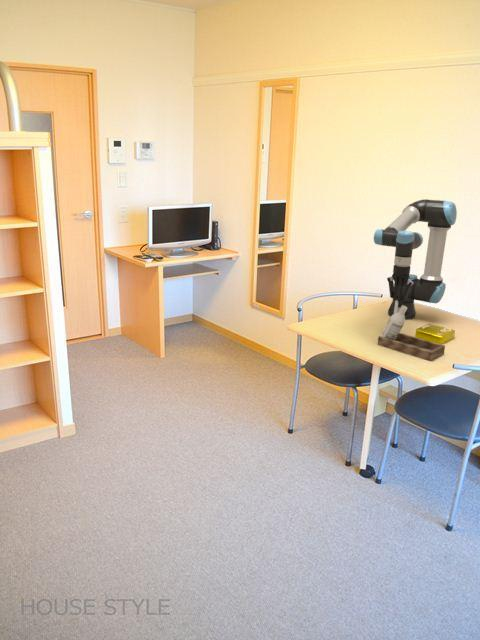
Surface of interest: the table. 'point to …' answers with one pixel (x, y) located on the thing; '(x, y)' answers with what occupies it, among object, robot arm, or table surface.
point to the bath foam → (395, 324)
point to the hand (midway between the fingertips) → (396, 313)
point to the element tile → (435, 333)
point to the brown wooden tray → (413, 346)
